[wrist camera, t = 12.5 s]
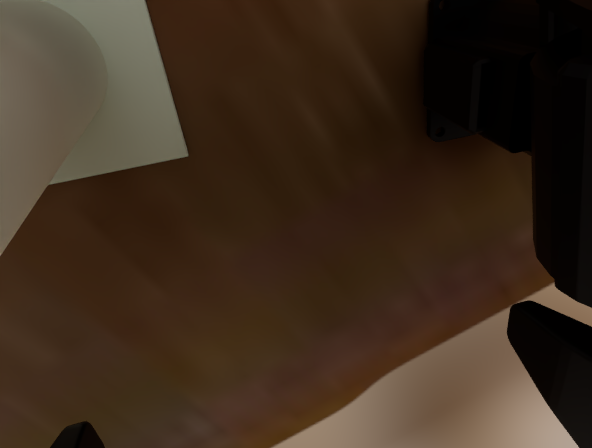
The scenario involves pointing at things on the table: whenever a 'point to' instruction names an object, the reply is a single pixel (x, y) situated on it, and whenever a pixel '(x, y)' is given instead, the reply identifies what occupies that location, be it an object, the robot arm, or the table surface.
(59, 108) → the plug
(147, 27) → the mat
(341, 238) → the table surface
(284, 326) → the table surface
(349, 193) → the table surface
